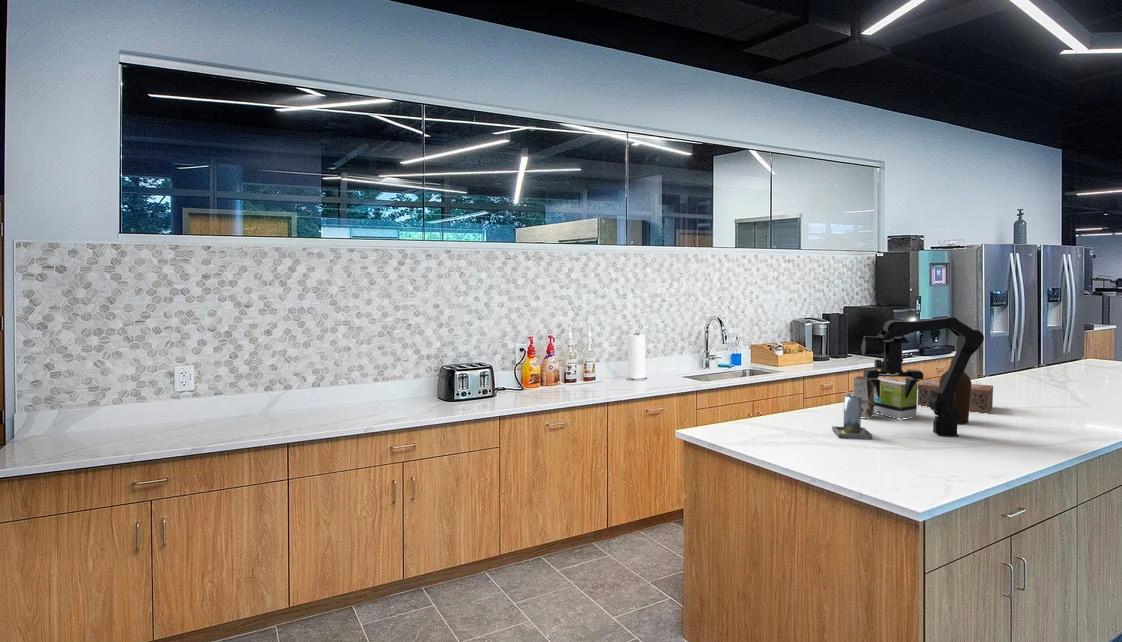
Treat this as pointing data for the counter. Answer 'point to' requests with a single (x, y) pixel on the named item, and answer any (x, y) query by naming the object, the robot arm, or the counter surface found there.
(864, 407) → the coffee box
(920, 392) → the tissue box cover
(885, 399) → the tea box
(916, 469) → the counter surface
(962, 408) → the olive oil
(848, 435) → the tray
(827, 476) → the counter surface
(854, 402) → the spout can
